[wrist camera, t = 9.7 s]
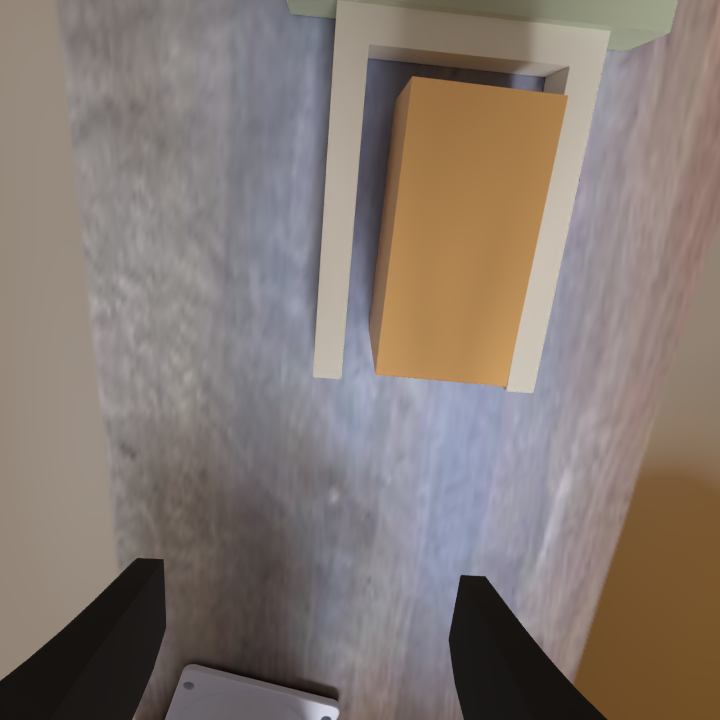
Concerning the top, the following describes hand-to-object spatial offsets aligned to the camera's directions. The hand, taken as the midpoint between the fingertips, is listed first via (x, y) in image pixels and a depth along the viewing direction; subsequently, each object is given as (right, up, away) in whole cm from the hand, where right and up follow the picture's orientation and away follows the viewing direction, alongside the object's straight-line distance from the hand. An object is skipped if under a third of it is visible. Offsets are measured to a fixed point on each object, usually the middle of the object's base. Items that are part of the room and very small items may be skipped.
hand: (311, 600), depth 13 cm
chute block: (+4, +11, +6) cm, 13 cm away
